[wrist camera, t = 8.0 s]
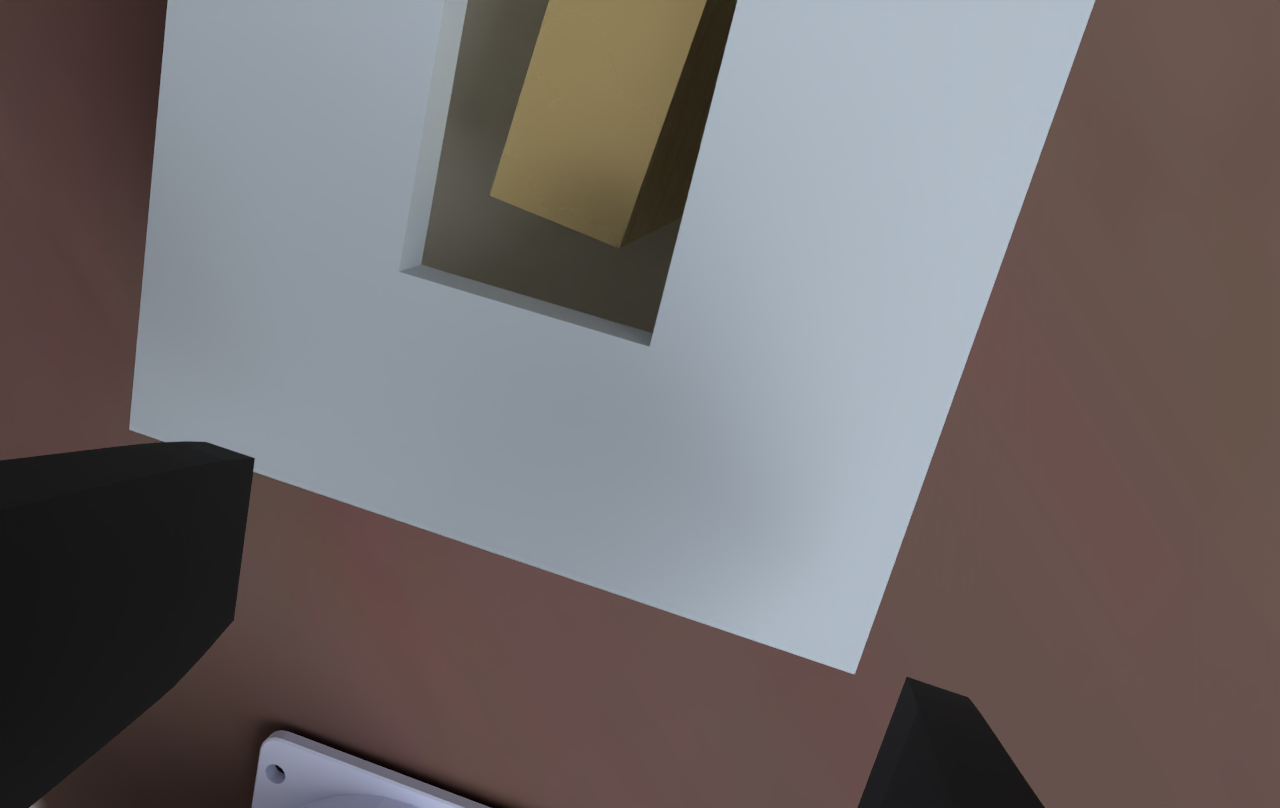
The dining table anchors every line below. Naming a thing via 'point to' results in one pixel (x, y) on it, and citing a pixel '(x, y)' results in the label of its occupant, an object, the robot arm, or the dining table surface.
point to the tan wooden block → (614, 114)
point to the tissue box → (595, 289)
